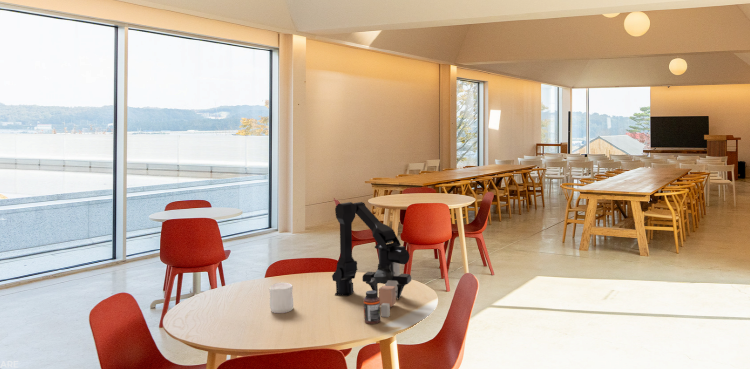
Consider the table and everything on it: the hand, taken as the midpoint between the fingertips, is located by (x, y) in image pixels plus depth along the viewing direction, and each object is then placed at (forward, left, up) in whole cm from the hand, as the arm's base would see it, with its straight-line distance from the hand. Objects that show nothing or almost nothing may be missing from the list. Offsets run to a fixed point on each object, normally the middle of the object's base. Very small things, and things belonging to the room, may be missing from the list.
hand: (387, 299), depth 230 cm
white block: (+3, -11, -3) cm, 12 cm away
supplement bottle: (0, -18, -3) cm, 18 cm away
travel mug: (-2, +13, -3) cm, 14 cm away
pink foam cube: (0, 0, -2) cm, 2 cm away
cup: (-40, -14, -3) cm, 43 cm away
